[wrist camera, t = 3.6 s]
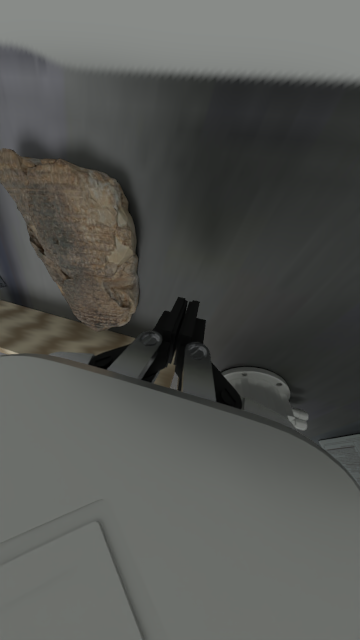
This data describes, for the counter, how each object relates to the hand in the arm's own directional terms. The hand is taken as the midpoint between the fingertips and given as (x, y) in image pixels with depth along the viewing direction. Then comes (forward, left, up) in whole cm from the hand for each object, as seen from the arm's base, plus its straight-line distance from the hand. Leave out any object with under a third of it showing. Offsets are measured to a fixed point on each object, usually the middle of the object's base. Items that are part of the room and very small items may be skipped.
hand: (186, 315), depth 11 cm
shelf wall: (+20, +14, -8) cm, 26 cm away
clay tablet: (+14, +1, -8) cm, 17 cm away
